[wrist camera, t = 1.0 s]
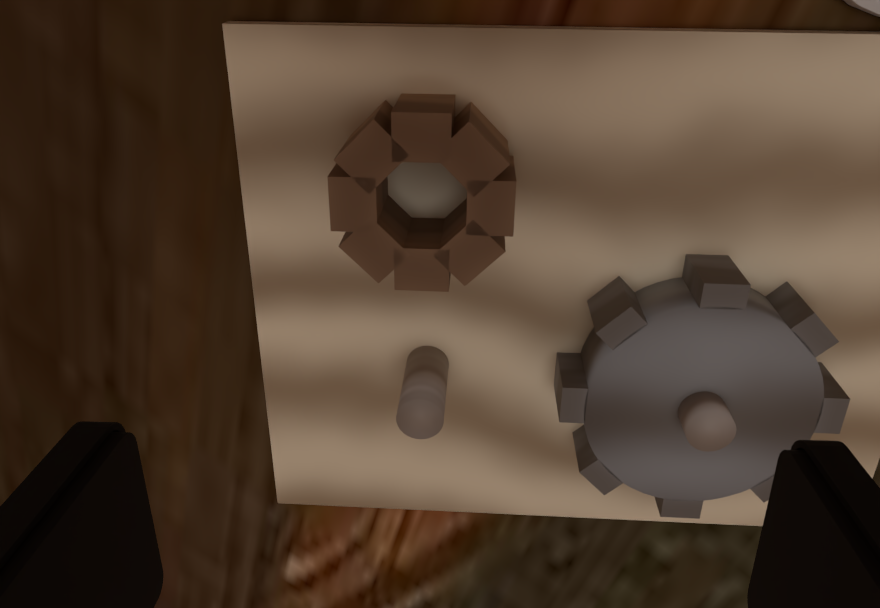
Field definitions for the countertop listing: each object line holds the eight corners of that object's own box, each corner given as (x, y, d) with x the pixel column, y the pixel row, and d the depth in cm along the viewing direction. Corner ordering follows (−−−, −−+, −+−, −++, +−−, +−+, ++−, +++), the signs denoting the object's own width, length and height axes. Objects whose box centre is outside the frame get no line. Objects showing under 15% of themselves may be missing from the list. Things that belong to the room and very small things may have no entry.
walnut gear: (340, 92, 29) (323, 110, 26) (516, 95, 29) (520, 114, 26) (348, 254, 32) (334, 287, 29) (507, 259, 32) (509, 294, 29)
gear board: (230, 21, 29) (178, 38, 24) (1008, 33, 28) (1119, 53, 23) (282, 490, 40) (253, 567, 35) (845, 516, 39) (898, 601, 34)
